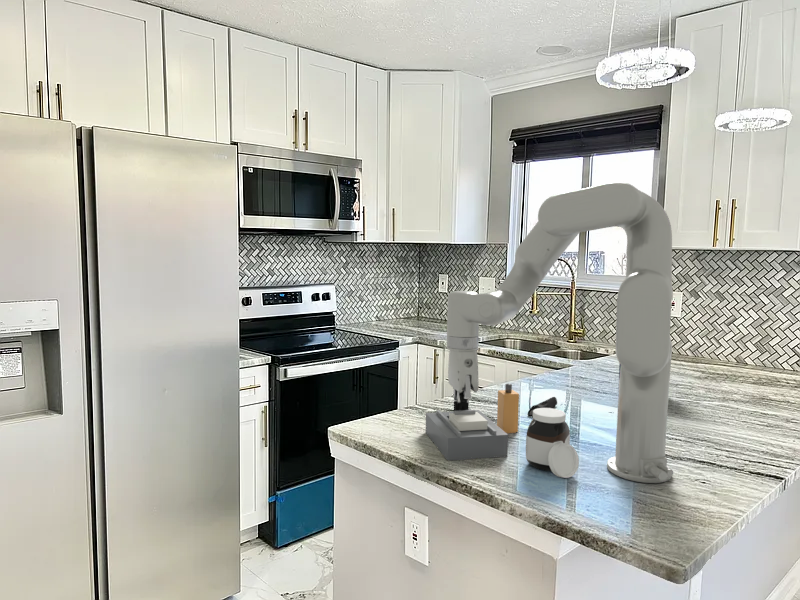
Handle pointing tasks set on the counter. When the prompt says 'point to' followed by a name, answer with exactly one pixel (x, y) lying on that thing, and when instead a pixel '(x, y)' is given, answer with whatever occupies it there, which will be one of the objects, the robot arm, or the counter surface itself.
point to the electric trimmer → (544, 405)
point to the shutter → (468, 420)
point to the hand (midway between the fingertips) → (460, 417)
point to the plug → (508, 409)
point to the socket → (465, 438)
